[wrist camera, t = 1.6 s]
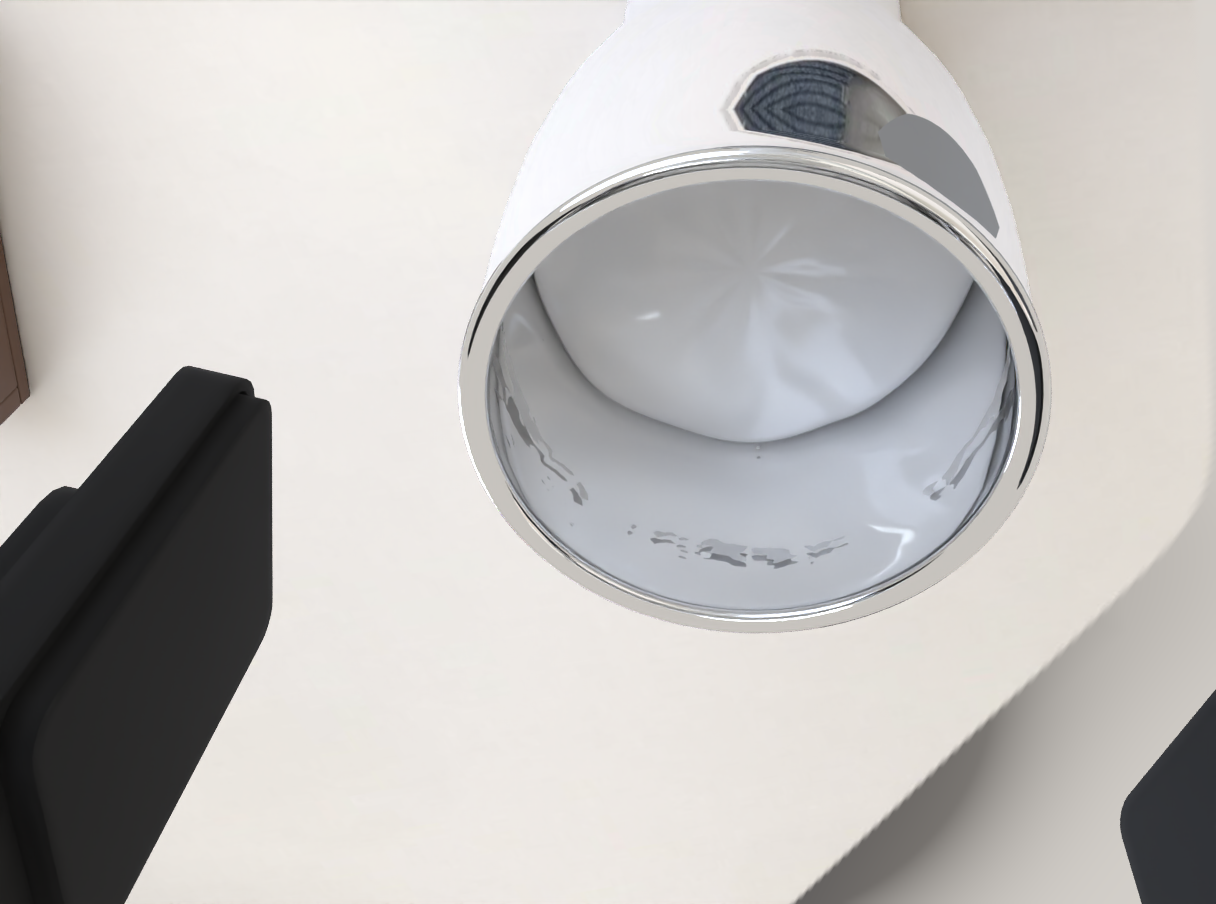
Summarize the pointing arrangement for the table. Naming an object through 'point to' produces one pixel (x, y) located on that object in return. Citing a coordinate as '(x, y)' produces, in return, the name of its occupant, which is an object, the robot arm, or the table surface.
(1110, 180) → the table surface
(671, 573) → the beer glass
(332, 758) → the table surface
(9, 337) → the tray
